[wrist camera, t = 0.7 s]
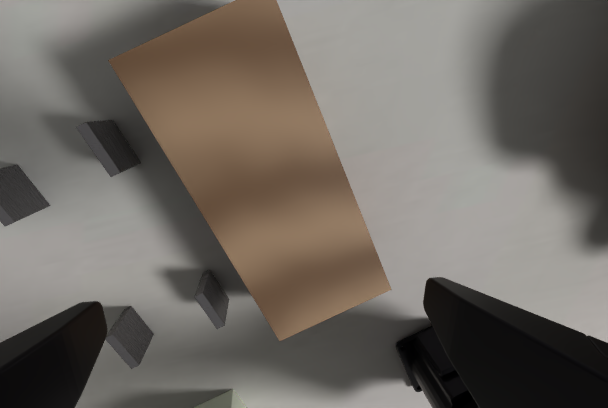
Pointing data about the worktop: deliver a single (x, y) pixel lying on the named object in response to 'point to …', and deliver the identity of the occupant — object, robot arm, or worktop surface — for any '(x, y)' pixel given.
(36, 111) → the worktop surface
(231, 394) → the rectangular block
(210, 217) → the cabinet
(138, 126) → the worktop surface
